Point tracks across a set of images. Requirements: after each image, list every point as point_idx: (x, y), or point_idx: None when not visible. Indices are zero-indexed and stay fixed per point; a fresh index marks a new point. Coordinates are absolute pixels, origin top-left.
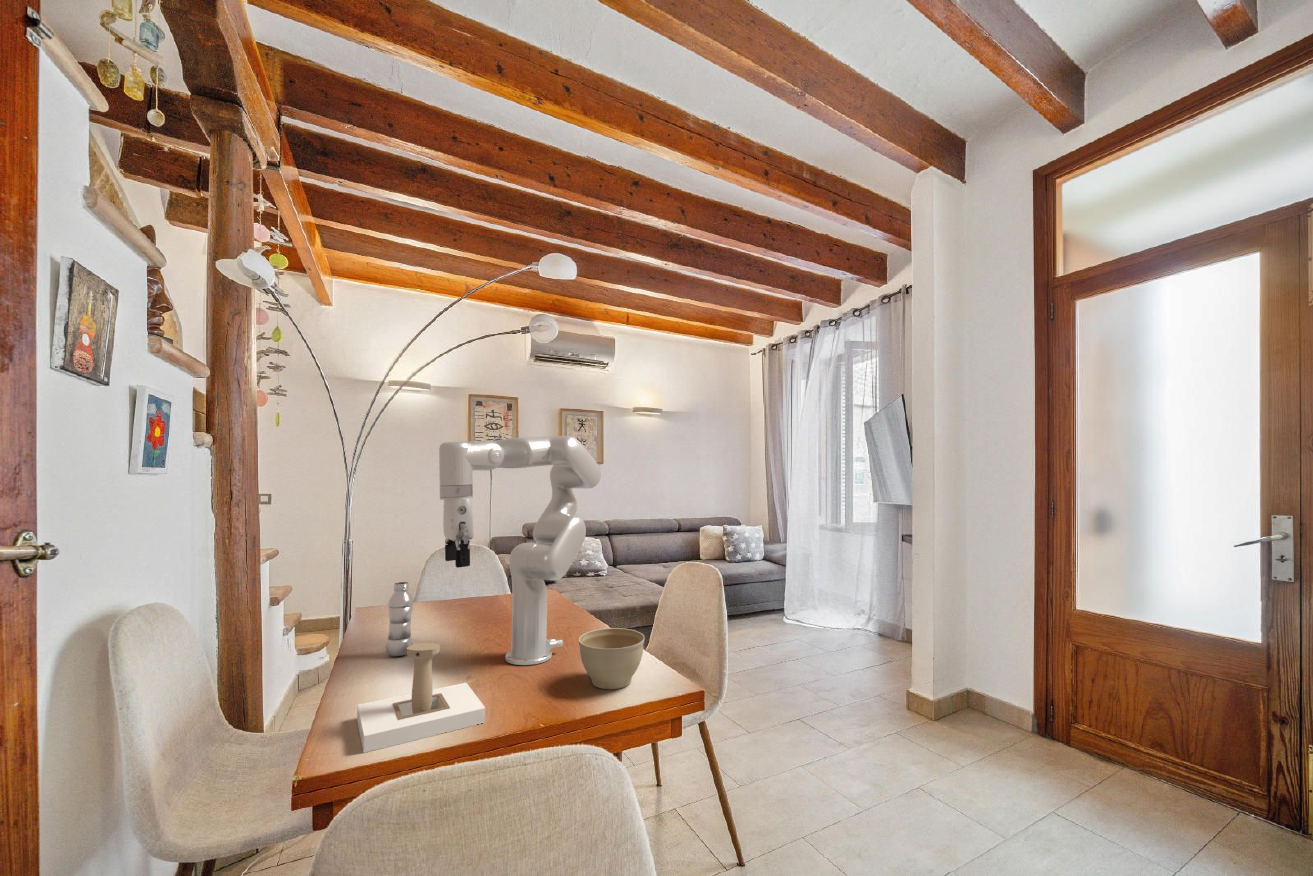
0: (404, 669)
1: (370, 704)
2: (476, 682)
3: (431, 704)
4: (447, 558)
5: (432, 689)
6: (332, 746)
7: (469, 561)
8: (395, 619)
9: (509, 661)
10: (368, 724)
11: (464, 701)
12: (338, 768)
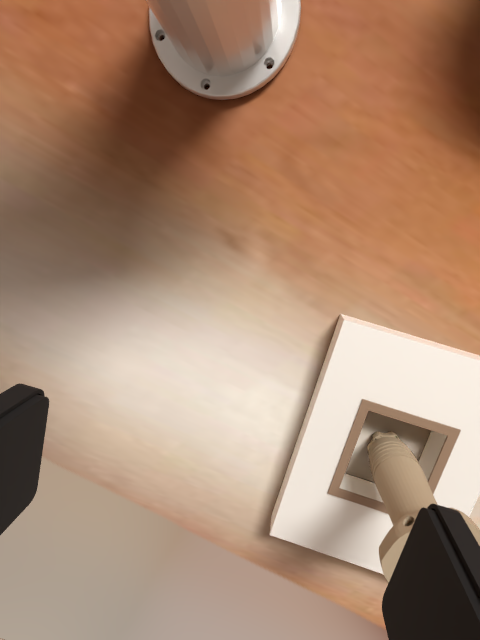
0: (59, 324)
1: (290, 519)
2: (279, 247)
3: (406, 446)
4: (21, 503)
5: (413, 461)
6: (350, 584)
7: (473, 543)
8: None
9: (225, 98)
10: None
11: (452, 387)
12: None
